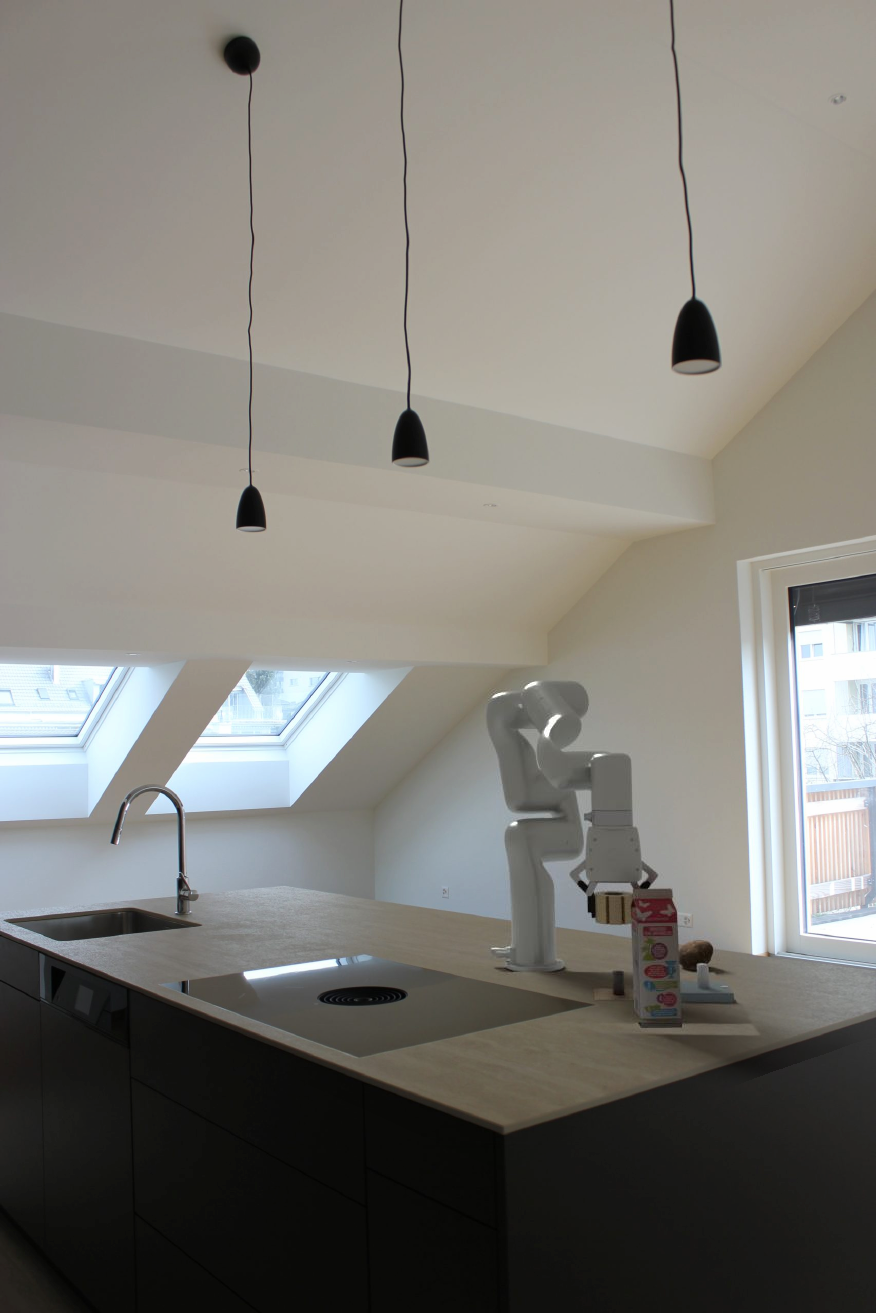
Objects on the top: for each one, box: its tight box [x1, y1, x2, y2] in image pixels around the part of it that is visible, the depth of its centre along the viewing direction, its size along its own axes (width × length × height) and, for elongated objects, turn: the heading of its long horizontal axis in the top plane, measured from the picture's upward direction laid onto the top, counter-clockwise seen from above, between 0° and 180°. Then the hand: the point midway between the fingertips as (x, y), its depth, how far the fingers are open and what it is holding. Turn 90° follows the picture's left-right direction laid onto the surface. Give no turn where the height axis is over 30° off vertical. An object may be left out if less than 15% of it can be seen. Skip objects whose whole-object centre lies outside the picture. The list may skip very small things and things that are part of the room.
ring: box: [594, 890, 633, 926], centre depth 186 cm, size 7×7×5 cm
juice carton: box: [630, 888, 683, 1029], centre depth 170 cm, size 7×7×22 cm
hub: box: [680, 963, 735, 1003], centre depth 181 cm, size 9×9×7 cm
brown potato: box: [679, 939, 714, 971], centre depth 214 cm, size 8×8×6 cm
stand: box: [592, 970, 634, 1001], centre depth 184 cm, size 9×9×6 cm
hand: (614, 916), depth 186 cm, fingers closed on ring, 7 cm apart
